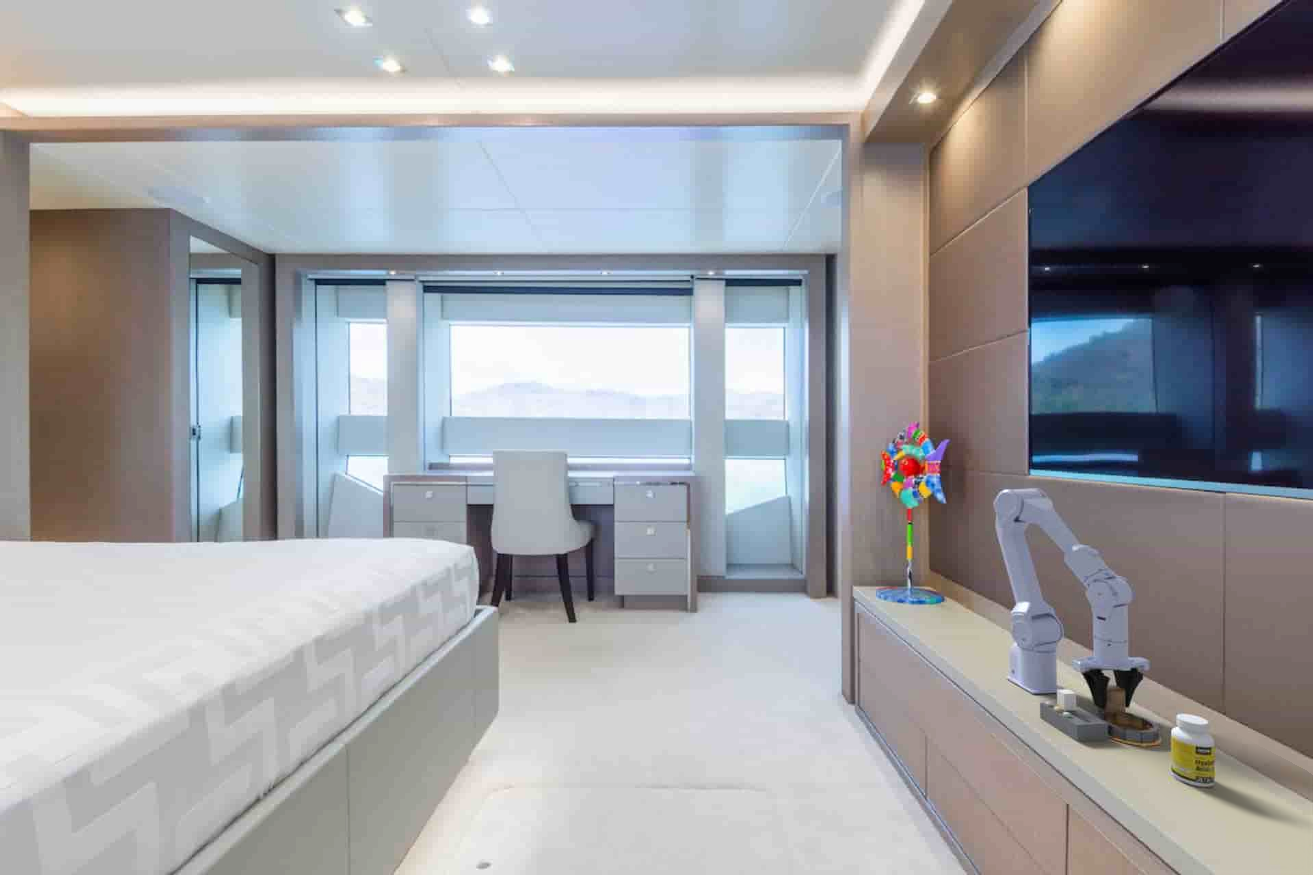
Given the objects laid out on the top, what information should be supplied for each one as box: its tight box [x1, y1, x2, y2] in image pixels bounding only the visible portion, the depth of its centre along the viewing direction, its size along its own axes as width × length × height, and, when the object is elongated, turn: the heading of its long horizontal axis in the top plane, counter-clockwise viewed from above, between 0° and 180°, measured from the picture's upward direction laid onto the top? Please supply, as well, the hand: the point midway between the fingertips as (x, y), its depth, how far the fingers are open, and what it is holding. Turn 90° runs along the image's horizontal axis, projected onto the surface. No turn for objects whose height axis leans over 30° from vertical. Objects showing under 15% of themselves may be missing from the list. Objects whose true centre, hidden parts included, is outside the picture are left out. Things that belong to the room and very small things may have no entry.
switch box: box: [1039, 700, 1109, 742], centre depth 122 cm, size 10×6×4 cm, turn 4°
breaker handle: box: [1056, 688, 1077, 711], centre depth 123 cm, size 2×2×3 cm
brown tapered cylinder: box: [1097, 683, 1127, 714], centre depth 128 cm, size 4×4×5 cm
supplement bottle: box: [1170, 713, 1216, 788], centre depth 103 cm, size 5×5×10 cm
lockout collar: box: [1096, 711, 1163, 747], centre depth 119 cm, size 10×10×2 cm
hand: (1111, 706), depth 128 cm, fingers closed on brown tapered cylinder, 4 cm apart
